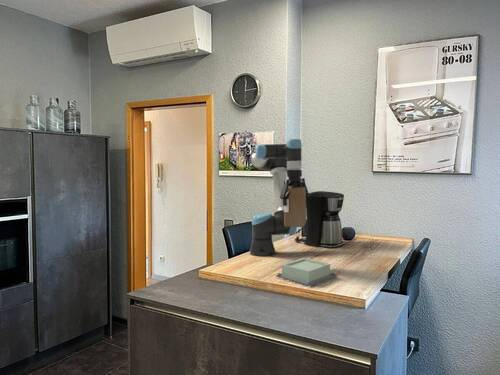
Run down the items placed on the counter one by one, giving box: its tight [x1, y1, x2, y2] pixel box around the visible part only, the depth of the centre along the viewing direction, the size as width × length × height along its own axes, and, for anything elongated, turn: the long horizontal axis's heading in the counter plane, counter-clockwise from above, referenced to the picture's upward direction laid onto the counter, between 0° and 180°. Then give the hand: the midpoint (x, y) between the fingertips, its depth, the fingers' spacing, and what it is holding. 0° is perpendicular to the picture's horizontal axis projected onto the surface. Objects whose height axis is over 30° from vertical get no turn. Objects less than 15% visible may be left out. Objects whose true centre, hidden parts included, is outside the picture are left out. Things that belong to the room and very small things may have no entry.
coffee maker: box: [294, 190, 345, 249], centre depth 252 cm, size 23×32×34 cm
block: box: [284, 187, 307, 228], centre depth 202 cm, size 10×10×20 cm
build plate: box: [275, 257, 337, 287], centre depth 185 cm, size 20×20×6 cm
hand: (294, 210), depth 203 cm, fingers closed on block, 13 cm apart
